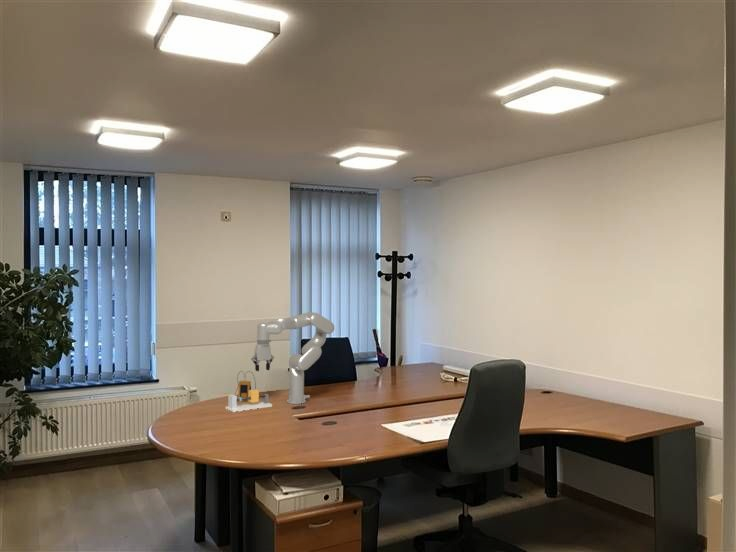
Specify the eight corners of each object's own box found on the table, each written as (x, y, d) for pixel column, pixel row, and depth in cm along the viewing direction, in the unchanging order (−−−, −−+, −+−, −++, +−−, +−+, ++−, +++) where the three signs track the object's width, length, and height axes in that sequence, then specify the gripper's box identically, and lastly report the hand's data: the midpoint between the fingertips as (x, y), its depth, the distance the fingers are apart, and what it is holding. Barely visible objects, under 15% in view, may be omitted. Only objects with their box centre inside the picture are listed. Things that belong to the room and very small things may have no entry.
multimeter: (258, 398, 390) (259, 369, 390) (254, 402, 381) (255, 371, 380) (237, 398, 392) (238, 368, 392) (232, 401, 382) (233, 370, 382)
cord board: (264, 403, 377) (264, 389, 377) (272, 406, 369) (272, 392, 369) (225, 409, 360) (225, 394, 360) (233, 412, 352) (233, 397, 352)
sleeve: (255, 400, 369) (255, 389, 369) (258, 401, 366) (258, 390, 366) (248, 401, 366) (248, 390, 366) (251, 402, 363) (251, 391, 363)
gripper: (272, 341, 379) (271, 368, 379) (248, 342, 367) (247, 370, 367) (278, 342, 373) (277, 370, 373) (253, 343, 362) (253, 372, 362)
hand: (262, 370), depth 370 cm, fingers open, 6 cm apart
